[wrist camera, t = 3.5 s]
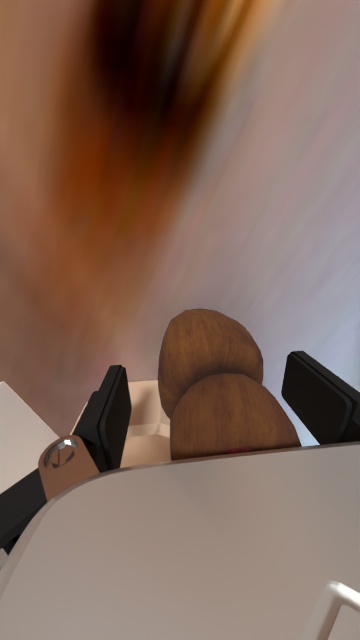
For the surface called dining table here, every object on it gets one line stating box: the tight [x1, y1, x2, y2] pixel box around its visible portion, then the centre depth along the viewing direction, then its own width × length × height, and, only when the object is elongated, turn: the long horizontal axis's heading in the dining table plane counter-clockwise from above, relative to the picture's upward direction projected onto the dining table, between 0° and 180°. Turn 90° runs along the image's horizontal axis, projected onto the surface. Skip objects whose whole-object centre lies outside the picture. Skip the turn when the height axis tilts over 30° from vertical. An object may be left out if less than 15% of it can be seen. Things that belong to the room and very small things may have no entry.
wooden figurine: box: [158, 309, 302, 461], centre depth 9 cm, size 7×6×15 cm
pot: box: [70, 380, 171, 468], centre depth 18 cm, size 14×14×5 cm
